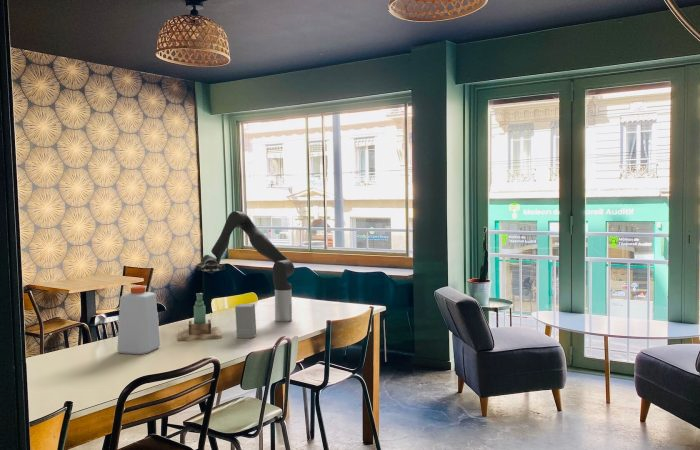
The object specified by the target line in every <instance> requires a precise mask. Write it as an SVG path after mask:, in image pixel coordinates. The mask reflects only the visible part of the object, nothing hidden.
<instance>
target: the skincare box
mask: <svg viewBox="0 0 700 450" xmlns="http://www.w3.org/2000/svg"><path fill="white" fill-rule="evenodd" d="M234 308H235V309H234V311H235V322H236V323H235V325H236V338H237V339H253V338H255V336H257V322H256V321H257V320H256V305H255V303H239V304H238V305H236V306H235V307H234Z"/></svg>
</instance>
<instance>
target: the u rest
mask: <svg viewBox="0 0 700 450" xmlns="http://www.w3.org/2000/svg"><path fill="white" fill-rule="evenodd" d="M222 336H223V335H222V330H221V326H212V321H211V319H207V322H206V323H204V324H194V323H193V322H192V320H188V328H180V329H179V330H178V336H177V341H178V342H181V341H183V342H184V341H198V340H199V341H200V340H211V339H212V340H213V339H222Z"/></svg>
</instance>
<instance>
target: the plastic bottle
mask: <svg viewBox="0 0 700 450" xmlns="http://www.w3.org/2000/svg"><path fill="white" fill-rule="evenodd" d="M157 308H158V306H157V297H156V293H155V292H151V291H150V292H149V291H146V287H145V286H133V287H130V292H128V293H125V294H122V295H121V296H120V297H119V312H118V314H119V315H118V329H117V330H118V333H117V349H116V351H117V352H118V353H119V354H128V355H129V354H130V355H145V354H149V353H150V352H153V351H155V350H157V349H159V348H160V346H161V340H160V328H159V316H158V309H157Z"/></svg>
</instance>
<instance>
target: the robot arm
mask: <svg viewBox="0 0 700 450" xmlns="http://www.w3.org/2000/svg"><path fill="white" fill-rule="evenodd" d="M236 228H239V229H241V230H243V231H244V233H245V234H246V235H247V237H248V239H249V242H250V243H249V244H250V245H251V246H252V247H253V248H254V250H255V251H256V252H257V253H259V254H260V255H261V256H263V257H265V258H267V259H269V260H270V261H271V262H273V265H272V282H273V286H274V321H276V322H278V323H279V322H283V323H284V322H292V320H293V306H292V305H293V304H292V303H293V299H292V297H293V295H292V294H293V293H292V289H293V288H292V283H290V282H288V277H290V276H292V275H293V274H294V273H295V266H294V264H293V262H292V261H291V260H290V259H289V258H288V257H287V256H286V255H284V254H283V253H282V252H281V251H280V250H279V249H278V247H276V246H275V245H274V244H273V243H272V242H271V240H270V239H269V238H268V237H267V236H266V235H265V234H264V232H262V231H261V230H260V229H259V228H258V227H257V226H256V224H255V223H254V222H253V221H252V219H251V218H250V217H249V215H248V214H247V213H245V212H244V211H237V210H235V211H232V212H230V213H229V215H228V217H227V218H226V221H225V224H224V225H223V228H222V231H221V233H220V235H219V237H218V238H217V240H216V242H215V244H214V245H213V247H212V248H211V251H210V252H211V253H212V254H213V256H215V257H213V256H212V255H210V254H205V255H203V257H202V258H201V262H200V263H201V264H198V265H197V271H198V272H200V271H202V272H207V273H209V274H213V273H215V272H218V271H221V270H222V271H225V270H226V265H225V264H224V263H221V259H222V257H223V255H224V253H225V252H226V250H227V248H228V246H229V244H230V239H231V234H232V233H233V231H235V229H236ZM220 263H221V265H220Z"/></svg>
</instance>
